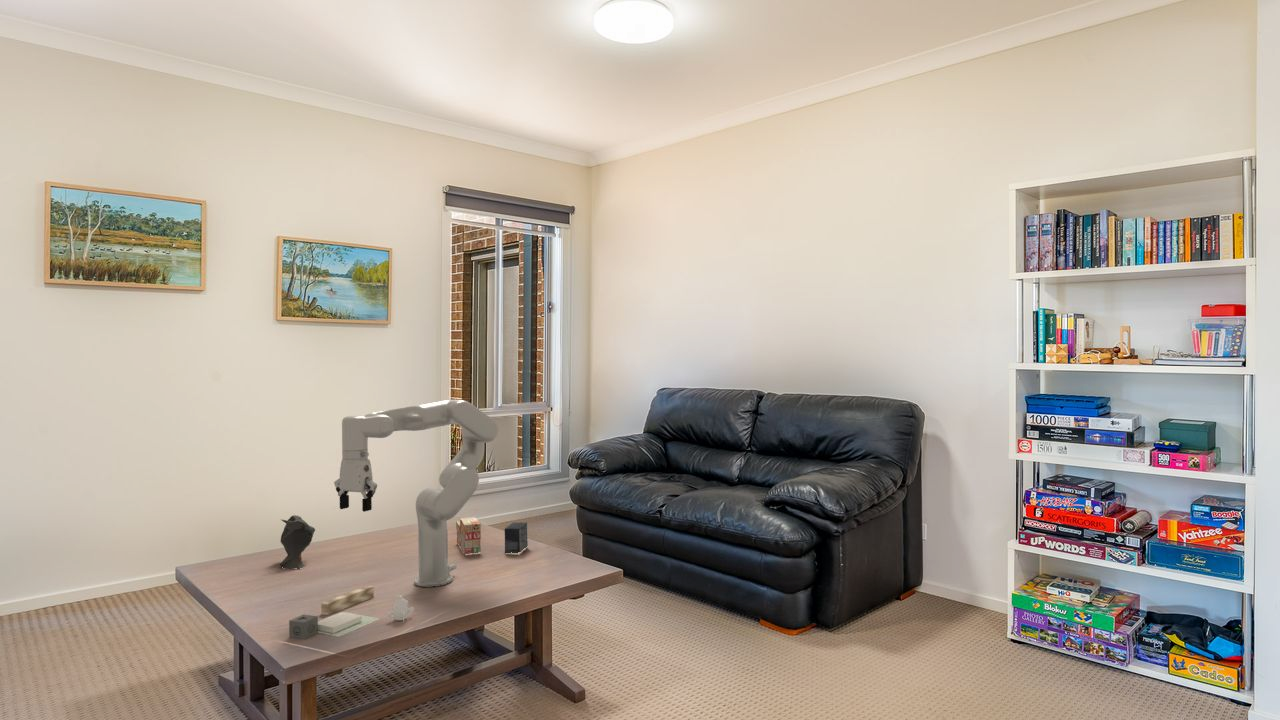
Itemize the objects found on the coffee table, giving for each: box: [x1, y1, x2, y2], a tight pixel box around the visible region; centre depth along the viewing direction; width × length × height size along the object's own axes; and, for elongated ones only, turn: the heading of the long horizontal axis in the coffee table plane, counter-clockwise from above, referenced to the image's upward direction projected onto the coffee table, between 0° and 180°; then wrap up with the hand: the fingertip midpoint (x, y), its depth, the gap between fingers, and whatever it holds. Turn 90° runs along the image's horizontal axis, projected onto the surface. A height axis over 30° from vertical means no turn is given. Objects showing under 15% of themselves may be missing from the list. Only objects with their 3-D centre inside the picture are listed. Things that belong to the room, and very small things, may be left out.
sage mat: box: [317, 611, 380, 638], centre depth 205 cm, size 15×14×1 cm
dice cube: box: [288, 614, 319, 640], centre depth 197 cm, size 5×5×5 cm
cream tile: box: [318, 611, 362, 633], centre depth 204 cm, size 2×8×10 cm
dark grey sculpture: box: [279, 514, 316, 570], centre depth 271 cm, size 14×15×18 cm
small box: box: [504, 522, 529, 554], centre depth 284 cm, size 11×6×10 cm, turn 172°
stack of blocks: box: [455, 516, 482, 555], centre depth 289 cm, size 21×6×12 cm, turn 22°
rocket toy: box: [386, 593, 414, 623], centre depth 208 cm, size 5×5×8 cm
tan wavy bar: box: [320, 585, 375, 616], centre depth 221 cm, size 18×2×4 cm, turn 155°
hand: (355, 509), depth 228 cm, fingers open, 9 cm apart
